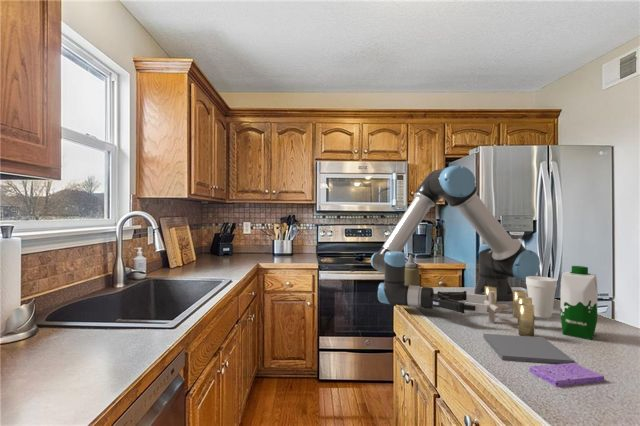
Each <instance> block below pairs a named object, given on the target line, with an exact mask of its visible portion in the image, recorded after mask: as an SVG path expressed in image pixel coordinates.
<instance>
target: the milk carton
mask: <svg viewBox="0 0 640 426" xmlns="http://www.w3.org/2000/svg"><path fill="white" fill-rule="evenodd" d="M560 278H561V279H560V322H561V330H562V331H561V332H562V335H565V336H570V337H576V338H579V339H585V340H590V341H592V340H593V338H594V335H595V333H596V327H597V323H598V294H599V293H598V279H597V274H593V273H589V267H587V266H583V265H572V266H571V271H565V272H563V273H562V274H561V277H560Z"/></svg>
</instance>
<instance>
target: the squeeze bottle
mask: <svg viewBox="0 0 640 426" xmlns="http://www.w3.org/2000/svg"><path fill="white" fill-rule="evenodd" d="M405 285H412V286H420V287H421V283H420V272H419V269H418V268H417V262H414V257H413V254H409V256H408V260H407V262H406V264H405Z"/></svg>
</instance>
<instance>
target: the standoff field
mask: <svg viewBox="0 0 640 426" xmlns="http://www.w3.org/2000/svg"><path fill="white" fill-rule="evenodd" d="M489 291H494V292H495V304H498V302H497V301H498V300H497V287H495V286H485V295H487V300H488V301H489ZM512 291H513V299H512V317H513V318H515V319H517V323H516V324H517V326H518V336H530V337H535V316H534V307H535V306H534V305H532V298H530V297H528V296H527V290H521V289H520V290H518V289H513V290H512ZM487 313H489V309H487Z"/></svg>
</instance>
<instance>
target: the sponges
mask: <svg viewBox="0 0 640 426" xmlns="http://www.w3.org/2000/svg"><path fill="white" fill-rule="evenodd" d="M529 373H530V374H533V375H534V376H536V377H538V378H539V377H540V379H541V378H542V379H541V380H543V379H544V381H545V380H546V381H545V382H547V381H548V382H549V383H548V382H547V383H548V384H550V383H551V384H550V385H552V384H553V386H554V387H556V386H557V387H563V386H564V385H566V386H573V385H582V384H593V383H601V382H603V381H605V375H603V374H600V373H598V372H596V371H593V370H591V369H588V368H586V367H584V366H581V365H580V364H577V362H574V363H569V364H550V365H549V364H541V365H529Z"/></svg>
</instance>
